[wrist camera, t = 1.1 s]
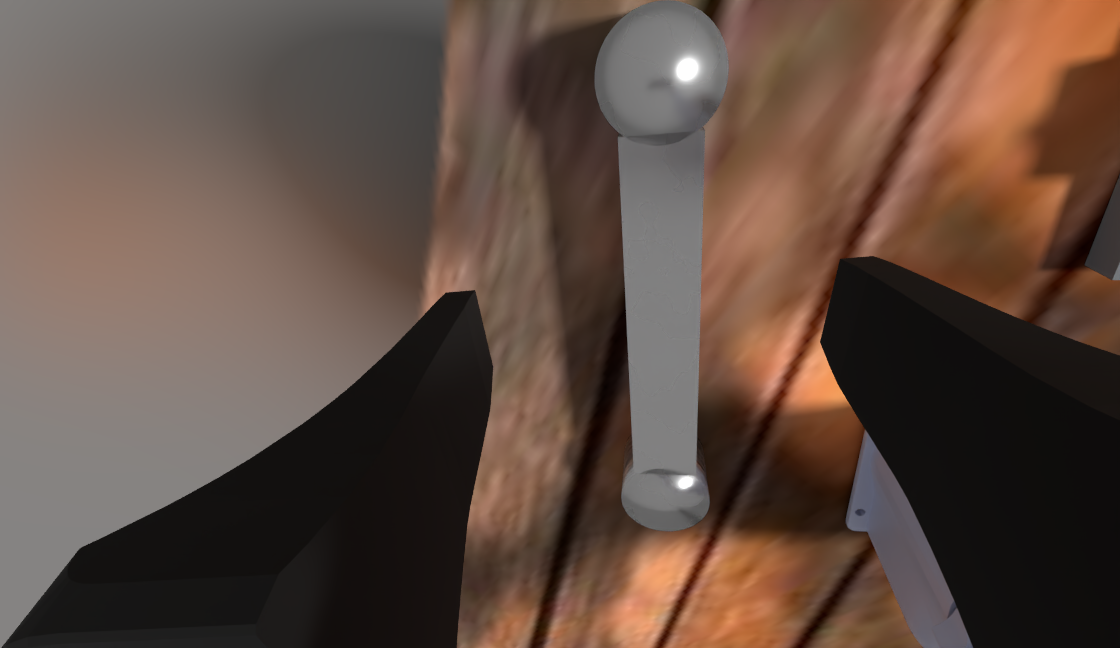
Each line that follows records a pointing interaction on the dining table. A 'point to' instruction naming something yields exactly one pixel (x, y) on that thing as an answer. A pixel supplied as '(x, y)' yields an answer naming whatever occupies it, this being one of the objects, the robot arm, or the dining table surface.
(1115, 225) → the peg rack
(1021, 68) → the dining table surface
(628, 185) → the grey bar
